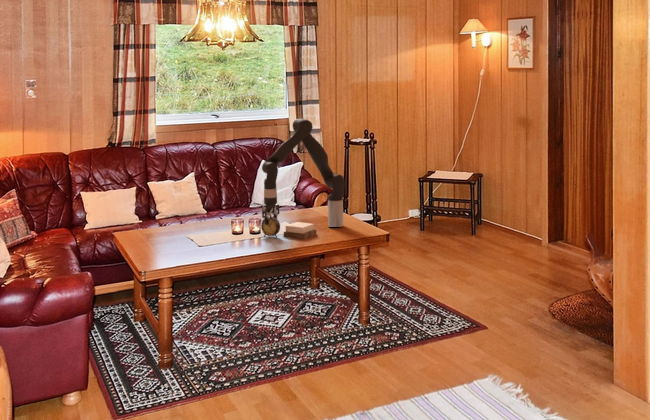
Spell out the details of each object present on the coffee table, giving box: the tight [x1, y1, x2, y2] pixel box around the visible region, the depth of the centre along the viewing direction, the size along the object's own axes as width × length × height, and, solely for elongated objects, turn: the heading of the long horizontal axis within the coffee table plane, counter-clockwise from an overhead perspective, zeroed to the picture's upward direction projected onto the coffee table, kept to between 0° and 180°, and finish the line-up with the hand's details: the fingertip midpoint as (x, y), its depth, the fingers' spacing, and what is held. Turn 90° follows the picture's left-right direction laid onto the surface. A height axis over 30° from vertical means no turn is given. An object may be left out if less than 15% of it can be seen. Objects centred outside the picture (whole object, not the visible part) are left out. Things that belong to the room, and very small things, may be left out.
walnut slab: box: [283, 229, 317, 240], centre depth 421 cm, size 14×14×4 cm
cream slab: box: [285, 221, 315, 234], centre depth 421 cm, size 12×12×4 cm
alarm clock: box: [260, 211, 281, 238], centre depth 417 cm, size 11×5×16 cm, turn 62°
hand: (271, 223), depth 417 cm, fingers open, 8 cm apart
